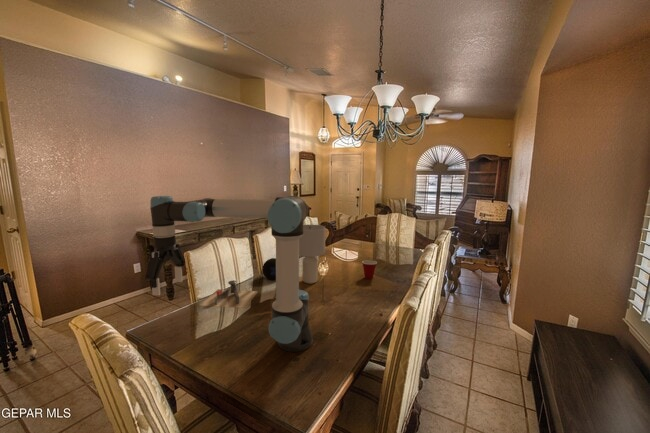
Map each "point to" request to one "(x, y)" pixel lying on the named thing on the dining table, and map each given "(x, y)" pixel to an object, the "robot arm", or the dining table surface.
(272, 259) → the decorative sphere
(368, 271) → the plastic cup
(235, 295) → the grey lever with knob
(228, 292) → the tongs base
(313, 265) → the lamp
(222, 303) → the board
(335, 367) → the dining table surface
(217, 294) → the tab
